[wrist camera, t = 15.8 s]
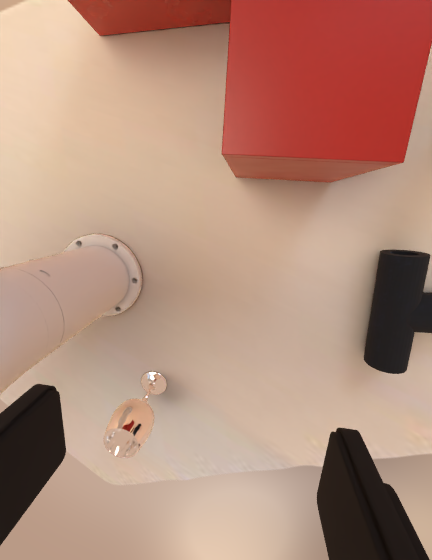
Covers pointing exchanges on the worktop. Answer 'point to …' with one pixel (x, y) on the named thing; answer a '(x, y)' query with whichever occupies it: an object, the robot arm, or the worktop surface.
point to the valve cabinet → (322, 86)
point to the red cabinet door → (150, 14)
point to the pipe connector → (397, 309)
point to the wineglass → (133, 419)
